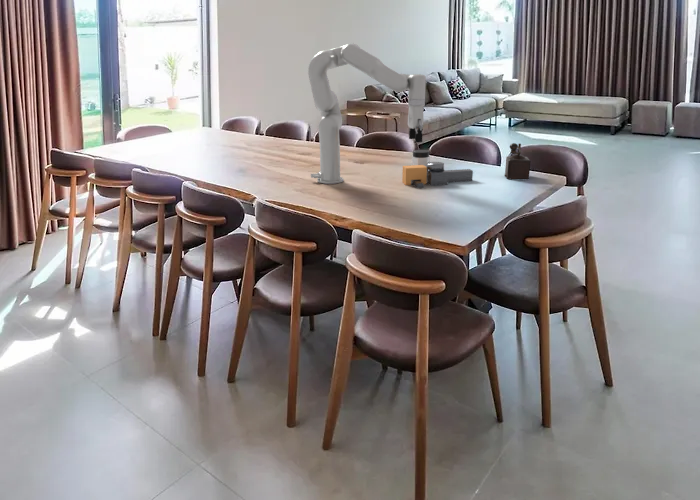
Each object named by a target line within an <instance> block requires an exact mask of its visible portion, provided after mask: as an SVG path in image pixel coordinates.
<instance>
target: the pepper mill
mask: <svg viewBox="0 0 700 500" xmlns="http://www.w3.org/2000/svg"><path fill="white" fill-rule="evenodd" d="M509 148H510V154H511V155H510V156H506V157H505V168H504V169H505V170H504V177H505V178H506V179H507V180H512V179H529V178H530V172H531V160H530V159H529V157H528V156H524V155H523V154H521V153H522V144H521V143H518V144H517V143H515V142H513V143H510V145H509Z"/></svg>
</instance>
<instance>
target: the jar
mask: <svg viewBox="0 0 700 500" xmlns="http://www.w3.org/2000/svg"><path fill="white" fill-rule="evenodd" d="M428 162H431V156H430V151H429V150H427V149H415V150H413V151H412V156H411V165H424V166H426V167H427V163H428Z"/></svg>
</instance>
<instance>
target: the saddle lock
mask: <svg viewBox="0 0 700 500" xmlns="http://www.w3.org/2000/svg"><path fill="white" fill-rule="evenodd" d="M401 178H402V179H401V180H402V181H401V182H402V184H404V185H405V186H412V183H411V180H417V179H418V180H420V181H421V182H423V183H424V184H423V185H427V182H426V180H427V167H426V166H424V165H412V164H410V165H402V177H401Z"/></svg>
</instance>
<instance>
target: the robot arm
mask: <svg viewBox="0 0 700 500" xmlns="http://www.w3.org/2000/svg"><path fill="white" fill-rule="evenodd" d="M345 65H346V66H347V65H350V66H352V67H353V68H355V69H357V70H358V71H360V72H362V73H364V74H365V75H367V76H369V78H371V79H373V80H375V81H376V82H378V83H379V84H381V85H383V86H384V87H386V88H388V89H390V90H391V91H394V92H396V93H403V92H404V91H407V90H408V96H407V98H408V100H407V102H408V103H407V106H408V113H407V114H408V115H407V126H408V128H409V129H408V130H409V131H408V138H409V140H414V142H415V143H422V142H423V133H424V131H423V128H424V107H425V105H426V103H425V102H426V84H427V83H426V81H427V80H426V76H425V74H421V73H419V74H418V73H415V74H414V73H413V74H408V73H407V74H406V73H399V72H396V71H395V70H393V69H391V68H390V67H388V66H387V65H385V63H383V62H382V61H381V60H380V59H379V58H378V57H377V56H375V55H373V54H372V53H369V52H368V51H366V50H364V49H362V48H361V47H360V45H358V44H356V43H354V42H353V43H352V42H351V43H346V44H345V45H342V46H338V47H335V48H331V49H324V50H321V51H319V52H317V54H315V55H314V56H313V57H312V58H311V60H310V62H309V64H308V67H307V68H308V70H307V71H308V72H307V74H308V79H309V83H310V88H311V92H312V98H313V102H314V107H315V108H316V109H317V111H319V112H320V116H321V118H320V120H319V121H318V126H317V129H318V137H319V138H318V140H319V141H318V142H319V164H320V165H319V166H320V167H319V168H320V170H319V171H318V172H317V173H310V178H314V179H317V180H316V181H317V182H318V183H320V184H328V185H331V184H332V185H333V184H340V183H343V182H344V178H343V177H342V176H341V146H340V145H341V144H340V129H341V128H342V126H343V118H342V117H343V116H342V113H341V108H340V105H339V104H340V103H339V100H338V97H337V94H336V93H335V92H334V91H333V90H331V86H330V82H329V81H330V80H329V78H328V73H327V72H328V71H329V70H331V69H334V68H339V67H343V66H345Z"/></svg>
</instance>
